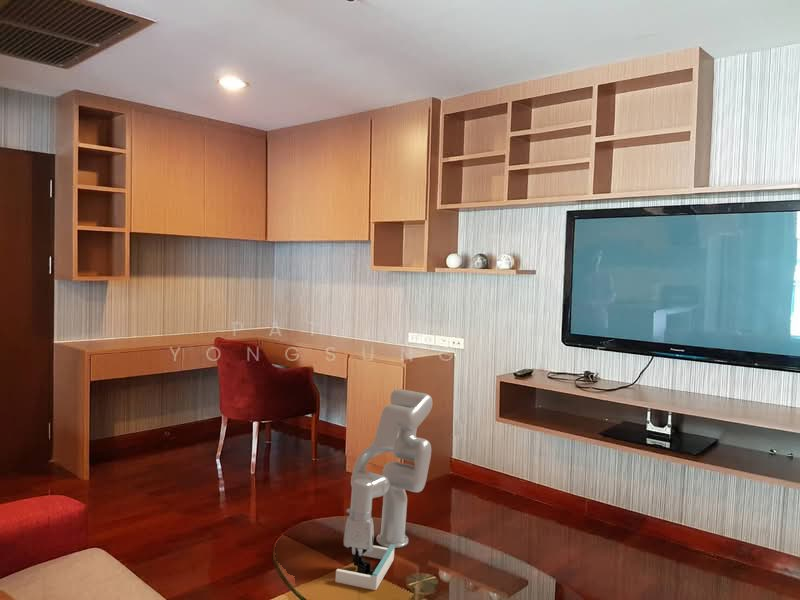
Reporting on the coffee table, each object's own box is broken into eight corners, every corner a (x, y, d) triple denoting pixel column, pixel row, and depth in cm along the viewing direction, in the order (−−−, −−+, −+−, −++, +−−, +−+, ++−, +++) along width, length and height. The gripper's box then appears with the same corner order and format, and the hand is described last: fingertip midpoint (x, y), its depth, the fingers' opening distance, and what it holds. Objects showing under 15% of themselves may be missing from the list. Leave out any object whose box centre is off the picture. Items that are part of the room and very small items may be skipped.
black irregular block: (362, 586, 211) (363, 573, 211) (344, 580, 215) (345, 567, 214) (380, 570, 222) (381, 558, 222) (363, 565, 226) (363, 552, 225)
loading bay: (356, 552, 234) (357, 538, 233) (393, 559, 230) (394, 545, 230) (335, 581, 212) (336, 566, 211) (376, 590, 208) (377, 574, 208)
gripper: (337, 514, 219) (333, 565, 220) (377, 522, 215) (374, 573, 216) (344, 507, 226) (341, 555, 227) (383, 513, 222) (380, 563, 223)
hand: (357, 564), depth 222 cm, fingers closed
